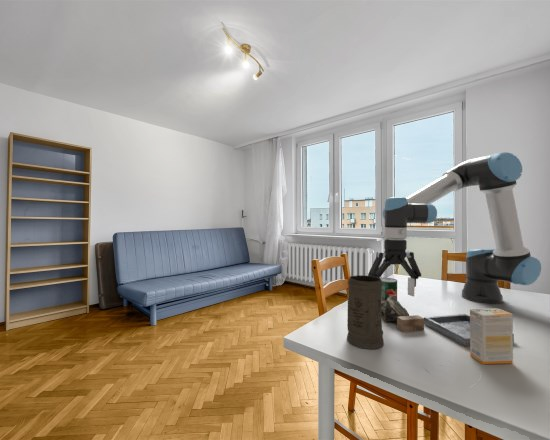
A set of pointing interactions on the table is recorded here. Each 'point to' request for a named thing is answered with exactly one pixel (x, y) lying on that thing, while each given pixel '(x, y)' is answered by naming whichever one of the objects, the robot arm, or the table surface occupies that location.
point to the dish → (452, 327)
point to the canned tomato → (388, 288)
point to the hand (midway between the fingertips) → (394, 296)
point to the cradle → (409, 322)
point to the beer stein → (365, 312)
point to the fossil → (392, 310)
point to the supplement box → (491, 336)
